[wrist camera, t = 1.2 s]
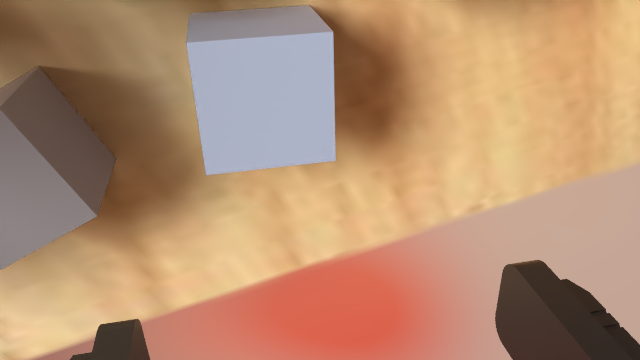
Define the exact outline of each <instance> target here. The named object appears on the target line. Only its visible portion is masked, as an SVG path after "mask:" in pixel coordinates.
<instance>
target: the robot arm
mask: <svg viewBox="0 0 640 360" xmlns="http://www.w3.org/2000/svg"><path fill="white" fill-rule="evenodd" d="M495 321H496V328H497V332H498V335H499V338H500V340H501V342H502V344H503V345H504V347H505V348H506V350H507V352H508V353H509V354H510V356H511V358H512V359H513V360H640V345H639V344H638V343H637V341H636V340H635V339H634V338H633V337H631V335H630V334H629V333H628V332H627V331H626V330H625V329H624V328H623V327H620V326H619V323H618V322H617V321H616V320H615V319H614V317H612V316H611V314H610V313H606V309H605V308H604V307H603V306H602V305H601V304H600V303H599V302H598V301H597V300H596V299H595V298H594V297H593V296H592V295H591V293H590V292H588V291H586V290H584V289H583V288H581V287H580V286H578V285H576V284H575V283H573V282H571V281H570V280H568V279H563V280H560V279H559V278H558V277H557V276H556V275H555V274H554V273H553V272H552V270H551V269H550V268H549V267H548V266H547V265H546V264H545V263H544V262H542V261H540V260H534V261H528V262H521V263H514V264H508V265H506V266H505V267H504V269H503V273H502V279H501V285H500V291H499V297H498V303H497V310H496V317H495ZM70 360H150V357H149V354H148V350H147V346H146V342H145V338H144V334H143V330H142V326H141V323H140V321H139V320H138V319H134V320H127V321H121V322H114V323H107V324H101V325H100V326H99V327H98V330H97V334H96V338H95V342H94V346H93V350H92V352H91V353H85V354H78V355H73V356H72V358H71V359H70Z"/></svg>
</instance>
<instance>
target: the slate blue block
mask: <svg viewBox="0 0 640 360" xmlns="http://www.w3.org/2000/svg"><path fill="white" fill-rule="evenodd" d="M186 45H187V52H188V58H189V65H190V72H191V79H192V85H193V92H194V99H195V105H196V112H197V119H198V125H199V132H200V139H201V145H202V152H203V159H204V165H205V172H206V175H213V174H222V173H231V172H240V171H248V170H257V169H266V168H275V167H284V166H293V165H302V164H311V163H320V162H329V161H336V154H335V98H334V42H333V31H332V30H331V29H330V27H329V26H328V25H327V24H326V23H325V22H324V21H323V20H322V19H321V17H320V16H319V15H318V14H317V13H316V12H315V11H314V10H313V9H312V7H311V6H310V5H304V6H289V7H274V8H260V9H245V10H230V11H215V12H201V13H190V15H189V24H188V32H187V40H186Z"/></svg>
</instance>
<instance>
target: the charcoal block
mask: <svg viewBox="0 0 640 360" xmlns="http://www.w3.org/2000/svg"><path fill="white" fill-rule="evenodd" d="M115 162H116V158H115V157H114V156H113V155H112V153H111V152H110V151H109V150H108V149H107V147H106V146H105V145H104V144H103V142H102V141H101V140H100V139H99V138H98V136H97V135H96V134H95V133H94V132H93V130H92V129H91V128H90V127H89V126H88V124H87V123H86V122H85V121H84V120H83V118H82V117H81V116H80V115H79V113H78V112H77V111H76V110H75V109H74V107H73V106H72V105H71V104H70V103H69V101H68V100H67V99H66V98H65V97H64V95H63V94H62V93H61V92H60V91H59V89H58V88H57V87H56V86H55V84H54V83H53V82H52V81H51V80H50V78H49V77H48V76H47V75H46V74H45V72H44V71H43V70H42V69H41V68H40V66H38V67H36V68H35V69H33V70H31V71H30V72H28V73H26V74H24V75H23V76H21V77H19V78H18V79H16V80H14V81H12V82H11V83H9V84H7V85H6V86H4V87H2V88H0V270H1V269H3V268H5V267H7V266H9V265H10V264H12V263H14V262H16V261H18V260H19V259H21V258H23V257H25V256H27V255H28V254H30V253H32V252H34V251H36V250H37V249H39V248H41V247H43V246H45V245H46V244H48V243H50V242H52V241H54V240H56V239H57V238H59V237H61V236H63V235H65V234H66V233H68V232H70V231H72V230H74V229H75V228H77V227H79V226H81V225H83V224H84V223H86V222H88V221H90V220H92V219H93V218H95V217H97V216H98V213H99V210H100V207H101V204H102V201H103V198H104V195H105V192H106V189H107V186H108V183H109V180H110V177H111V174H112V171H113V168H114V165H115Z"/></svg>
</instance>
